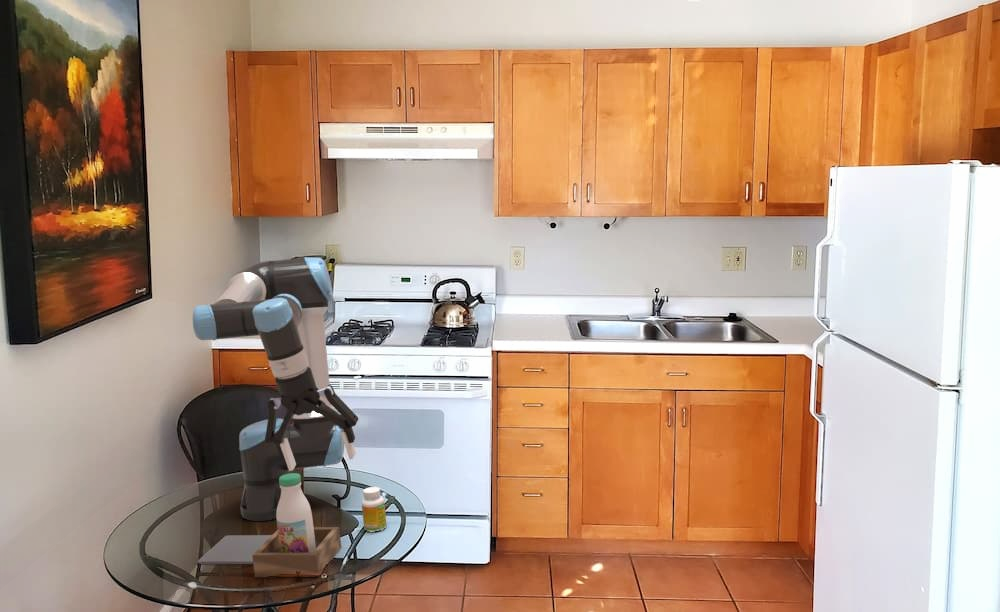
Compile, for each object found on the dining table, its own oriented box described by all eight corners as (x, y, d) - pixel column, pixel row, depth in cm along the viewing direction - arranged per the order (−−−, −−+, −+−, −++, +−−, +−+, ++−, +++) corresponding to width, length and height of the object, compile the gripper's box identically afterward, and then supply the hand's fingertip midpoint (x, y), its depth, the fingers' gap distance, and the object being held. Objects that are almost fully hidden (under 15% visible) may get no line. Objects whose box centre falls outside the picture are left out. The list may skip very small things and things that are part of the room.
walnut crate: (282, 548, 196) (279, 527, 196) (341, 547, 194) (339, 527, 193) (254, 577, 182) (252, 555, 182) (318, 577, 180) (315, 555, 179)
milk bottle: (295, 552, 193) (285, 468, 190) (324, 556, 190) (314, 471, 187) (274, 567, 186) (263, 481, 183) (303, 571, 183) (293, 483, 180)
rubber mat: (226, 537, 205) (226, 535, 205) (280, 537, 202) (280, 535, 202) (197, 564, 191) (196, 561, 191) (255, 564, 189) (255, 561, 189)
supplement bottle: (382, 533, 201) (378, 494, 199) (360, 532, 202) (356, 493, 200) (389, 523, 206) (386, 485, 204) (368, 523, 207) (364, 485, 205)
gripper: (229, 391, 173) (262, 481, 179) (344, 367, 170) (374, 459, 176) (242, 376, 180) (273, 464, 186) (353, 353, 177) (381, 443, 183)
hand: (322, 462), depth 181 cm, fingers open, 13 cm apart
